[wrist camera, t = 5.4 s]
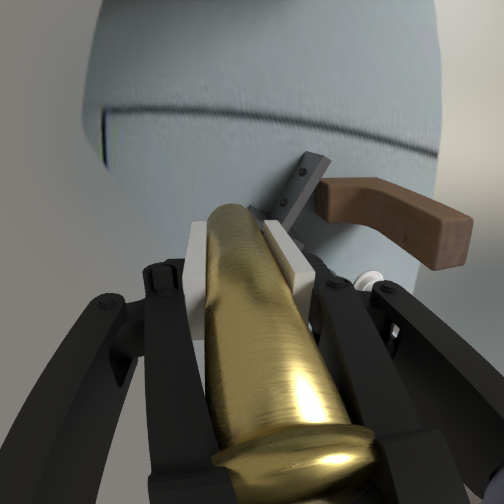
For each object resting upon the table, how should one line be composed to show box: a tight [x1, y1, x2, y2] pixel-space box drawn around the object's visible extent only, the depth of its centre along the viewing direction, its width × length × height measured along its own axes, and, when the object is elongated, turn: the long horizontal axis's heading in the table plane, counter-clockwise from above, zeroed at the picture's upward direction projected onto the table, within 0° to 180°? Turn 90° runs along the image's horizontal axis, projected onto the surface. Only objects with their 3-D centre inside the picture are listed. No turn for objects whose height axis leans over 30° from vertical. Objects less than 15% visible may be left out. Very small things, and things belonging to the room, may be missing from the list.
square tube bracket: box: [248, 151, 337, 276], centre depth 35 cm, size 15×15×6 cm
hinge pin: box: [204, 204, 381, 504], centre depth 12 cm, size 4×4×17 cm
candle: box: [354, 271, 399, 335], centre depth 37 cm, size 5×5×12 cm
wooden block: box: [316, 177, 473, 271], centre depth 28 cm, size 9×4×18 cm, turn 93°
